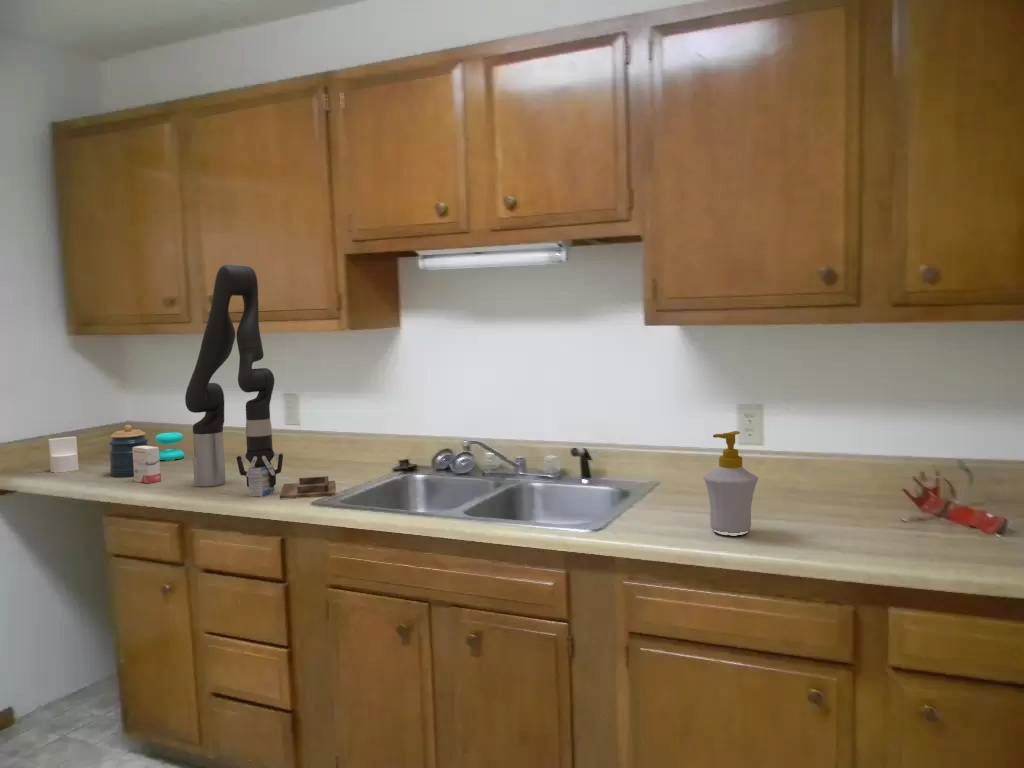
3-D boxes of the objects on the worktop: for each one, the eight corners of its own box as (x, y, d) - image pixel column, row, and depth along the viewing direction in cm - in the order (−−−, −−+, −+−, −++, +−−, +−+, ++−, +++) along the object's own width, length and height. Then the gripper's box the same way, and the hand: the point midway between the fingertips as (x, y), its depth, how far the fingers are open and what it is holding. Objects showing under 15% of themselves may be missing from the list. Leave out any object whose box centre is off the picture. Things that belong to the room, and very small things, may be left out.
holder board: (280, 499, 244) (279, 489, 244) (284, 486, 262) (283, 477, 262) (334, 495, 248) (334, 485, 247) (335, 483, 265) (334, 474, 265)
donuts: (161, 432, 323) (186, 431, 323) (163, 457, 323) (188, 456, 324) (150, 436, 313) (177, 435, 313) (152, 461, 313) (178, 461, 314)
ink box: (161, 481, 275) (159, 446, 274) (148, 483, 271) (146, 448, 270) (146, 478, 280) (144, 444, 279) (133, 481, 276) (131, 446, 275)
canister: (146, 469, 299) (144, 421, 297) (154, 474, 288) (151, 424, 286) (107, 473, 291) (104, 424, 290) (113, 479, 281) (110, 428, 279)
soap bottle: (692, 531, 200) (692, 431, 197) (729, 523, 206) (729, 426, 204) (731, 543, 189) (731, 437, 187) (769, 534, 196) (769, 432, 193)
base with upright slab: (76, 467, 305) (74, 435, 304) (80, 470, 298) (78, 438, 297) (48, 470, 300) (46, 438, 299) (52, 474, 293) (50, 440, 292)
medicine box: (262, 497, 248) (261, 469, 247) (248, 496, 248) (247, 468, 248) (274, 491, 255) (273, 464, 254) (261, 491, 256) (260, 463, 255)
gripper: (284, 430, 255) (286, 483, 257) (235, 433, 252) (238, 486, 254) (282, 434, 248) (285, 488, 249) (232, 436, 245) (235, 491, 247)
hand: (261, 487), depth 252 cm, fingers closed on medicine box, 5 cm apart
